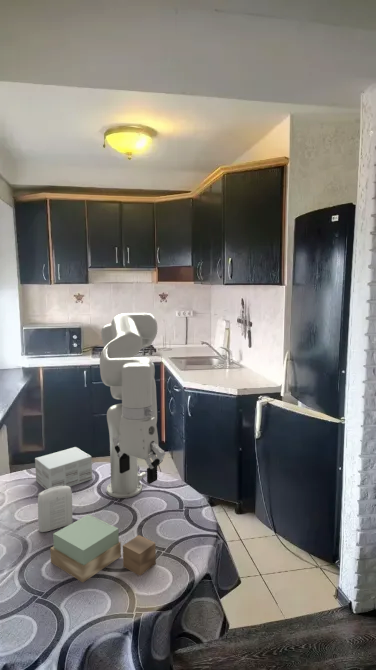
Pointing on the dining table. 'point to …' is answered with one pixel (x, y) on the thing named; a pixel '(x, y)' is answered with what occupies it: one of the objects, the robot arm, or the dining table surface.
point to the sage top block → (86, 539)
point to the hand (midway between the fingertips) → (138, 476)
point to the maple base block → (88, 569)
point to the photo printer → (54, 508)
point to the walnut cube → (139, 555)
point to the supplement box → (63, 468)
